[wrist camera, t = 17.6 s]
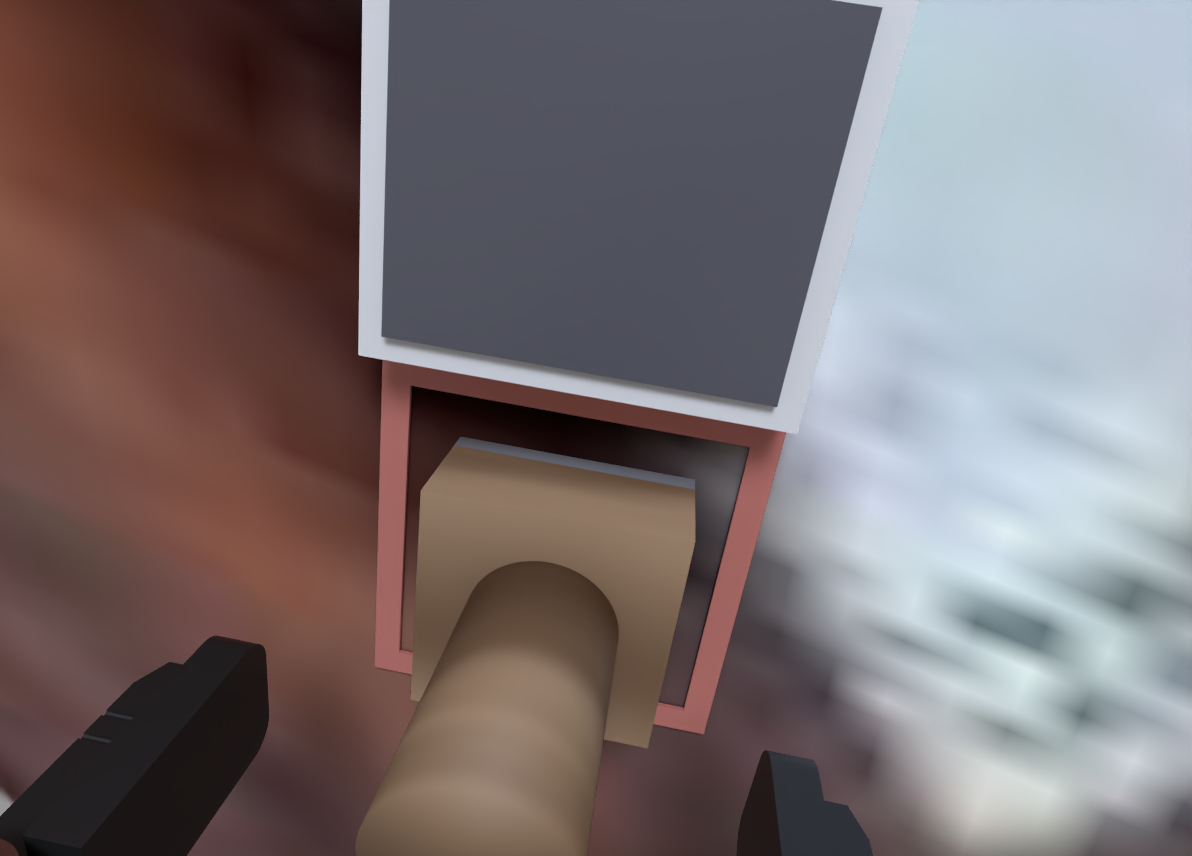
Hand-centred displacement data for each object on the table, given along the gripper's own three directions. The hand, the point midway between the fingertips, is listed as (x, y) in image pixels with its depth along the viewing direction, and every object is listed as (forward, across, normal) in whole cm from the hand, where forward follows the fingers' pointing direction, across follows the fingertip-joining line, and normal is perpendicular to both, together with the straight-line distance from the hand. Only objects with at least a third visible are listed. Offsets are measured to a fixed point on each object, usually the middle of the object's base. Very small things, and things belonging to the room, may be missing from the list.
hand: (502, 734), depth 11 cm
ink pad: (+5, 0, -8) cm, 9 cm away
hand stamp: (+5, 0, 0) cm, 5 cm away
